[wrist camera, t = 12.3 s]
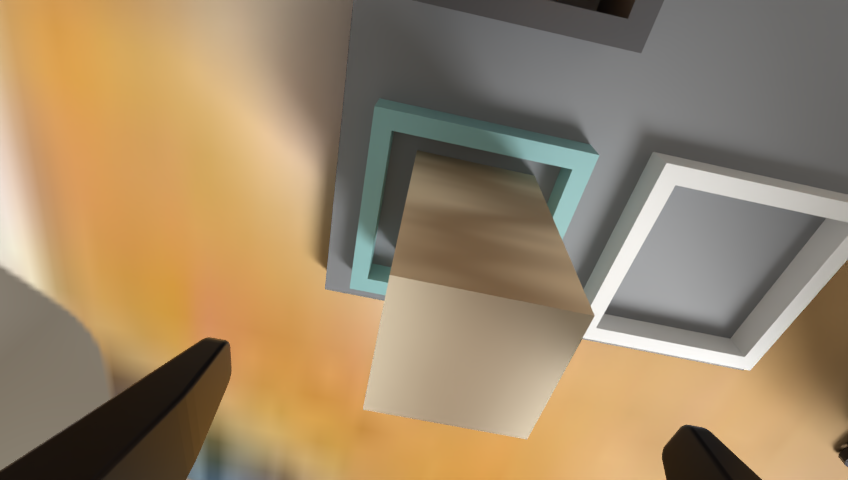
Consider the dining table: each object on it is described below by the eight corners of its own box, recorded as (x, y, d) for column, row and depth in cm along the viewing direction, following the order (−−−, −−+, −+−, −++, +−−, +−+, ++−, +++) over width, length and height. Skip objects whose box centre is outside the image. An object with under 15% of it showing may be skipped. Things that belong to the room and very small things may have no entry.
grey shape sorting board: (1179, -199, 10) (1507, -282, 7) (730, 352, 19) (782, 422, 16) (404, -420, 9) (378, -631, 6) (331, 274, 18) (306, 332, 15)
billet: (534, 175, 14) (594, 315, 8) (499, 271, 16) (526, 439, 10) (416, 150, 14) (389, 274, 8) (396, 250, 16) (362, 409, 10)
